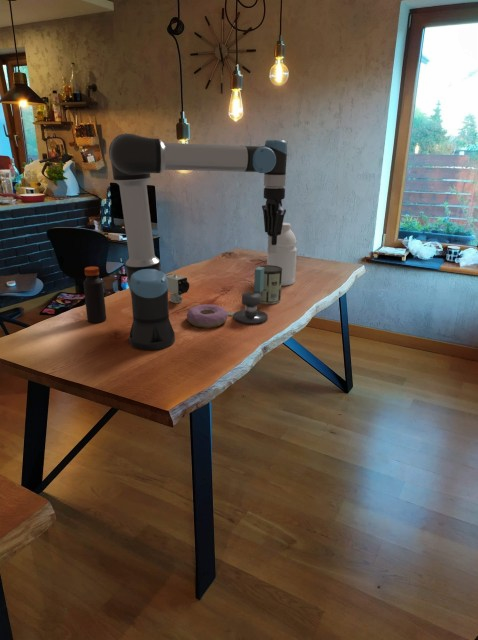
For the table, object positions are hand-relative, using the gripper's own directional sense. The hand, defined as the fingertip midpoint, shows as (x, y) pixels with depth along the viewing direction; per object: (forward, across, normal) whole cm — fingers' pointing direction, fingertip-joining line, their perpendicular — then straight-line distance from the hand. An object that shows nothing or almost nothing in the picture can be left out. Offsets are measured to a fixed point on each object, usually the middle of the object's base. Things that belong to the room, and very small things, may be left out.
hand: (271, 252), depth 168 cm
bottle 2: (+25, +37, -28) cm, 52 cm away
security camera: (+25, +29, +28) cm, 47 cm away
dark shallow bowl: (+25, +1, +9) cm, 26 cm away
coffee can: (+25, +16, -9) cm, 31 cm away
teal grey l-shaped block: (+18, +2, +6) cm, 19 cm away
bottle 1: (+25, +22, +62) cm, 70 cm away
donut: (+25, +4, +25) cm, 35 cm away
